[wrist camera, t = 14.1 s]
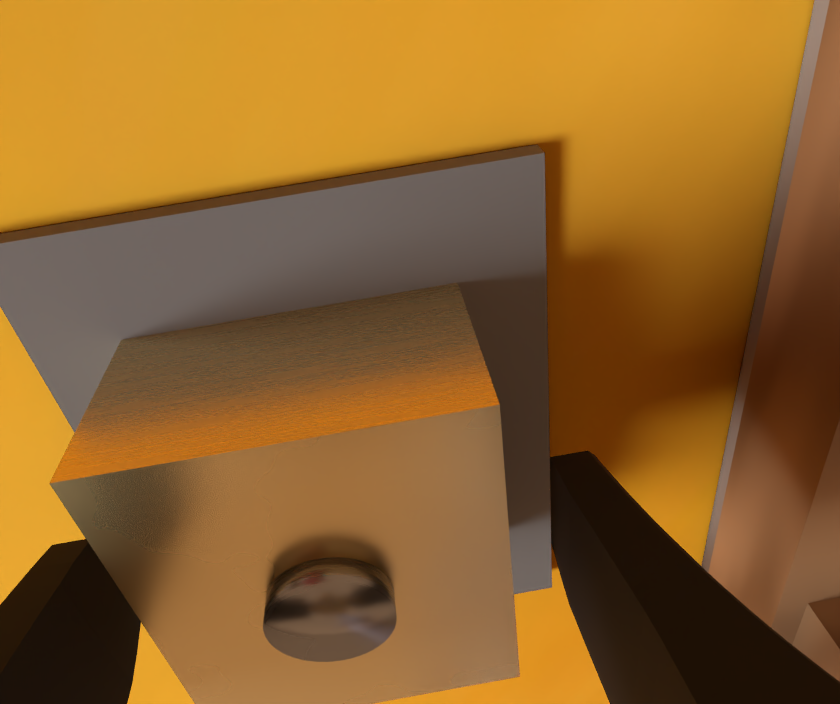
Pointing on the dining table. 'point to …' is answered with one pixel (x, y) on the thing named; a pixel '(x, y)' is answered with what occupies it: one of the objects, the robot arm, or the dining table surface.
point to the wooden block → (306, 501)
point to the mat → (313, 286)
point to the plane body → (792, 387)
